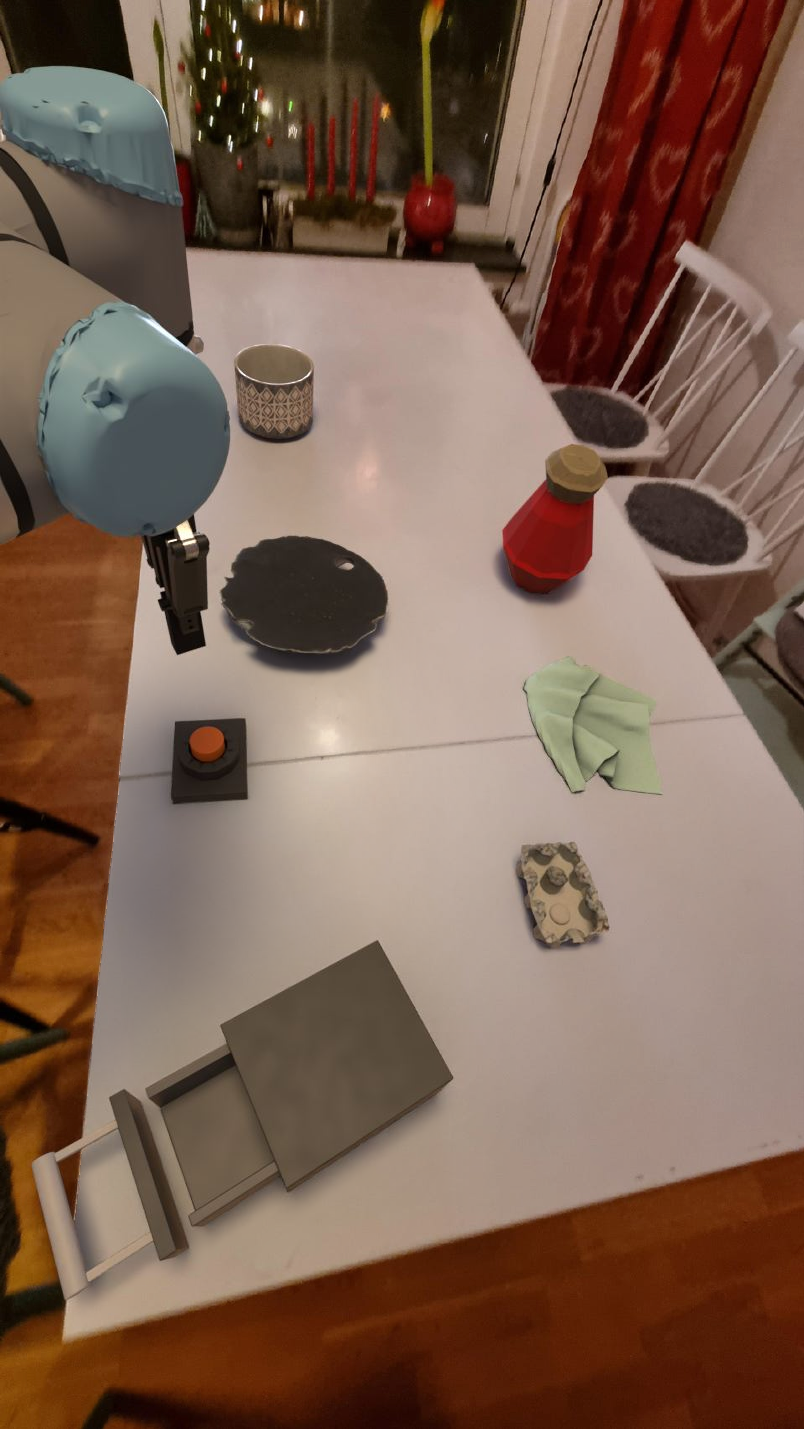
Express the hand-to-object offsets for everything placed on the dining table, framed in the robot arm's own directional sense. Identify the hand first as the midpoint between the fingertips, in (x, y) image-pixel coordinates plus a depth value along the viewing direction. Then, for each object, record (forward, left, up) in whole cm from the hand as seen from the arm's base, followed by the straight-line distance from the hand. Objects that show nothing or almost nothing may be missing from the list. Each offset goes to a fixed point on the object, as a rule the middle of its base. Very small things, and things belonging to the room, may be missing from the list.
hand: (188, 644), depth 63 cm
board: (+25, +4, -21) cm, 33 cm away
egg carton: (+6, -40, -21) cm, 46 cm away
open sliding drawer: (-31, -23, -20) cm, 43 cm away
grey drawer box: (-20, -29, -20) cm, 41 cm away
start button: (0, 0, -17) cm, 17 cm away
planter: (+60, +34, -21) cm, 73 cm away
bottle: (+53, -18, -21) cm, 60 cm away
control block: (0, 0, -20) cm, 20 cm away
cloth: (+30, -36, -21) cm, 52 cm away
